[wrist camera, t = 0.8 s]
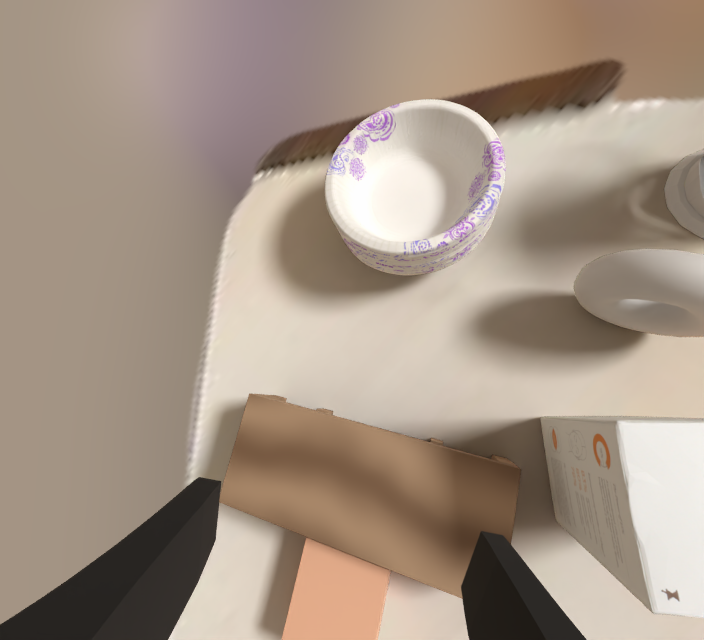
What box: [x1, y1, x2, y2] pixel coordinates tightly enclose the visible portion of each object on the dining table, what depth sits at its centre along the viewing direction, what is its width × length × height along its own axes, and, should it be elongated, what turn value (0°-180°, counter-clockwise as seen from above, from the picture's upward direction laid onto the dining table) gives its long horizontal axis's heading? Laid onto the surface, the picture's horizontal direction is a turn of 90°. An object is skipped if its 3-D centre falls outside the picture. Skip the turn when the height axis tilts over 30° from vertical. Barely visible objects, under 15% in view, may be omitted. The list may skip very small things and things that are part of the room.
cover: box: [282, 537, 391, 640], centre depth 28 cm, size 8×7×3 cm
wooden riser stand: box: [219, 394, 521, 599], centre depth 28 cm, size 9×22×5 cm, turn 75°
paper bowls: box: [325, 100, 506, 275], centre depth 32 cm, size 15×15×8 cm
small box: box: [541, 416, 704, 618], centre depth 21 cm, size 8×6×13 cm
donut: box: [574, 249, 704, 337], centre depth 24 cm, size 10×4×10 cm, turn 65°
